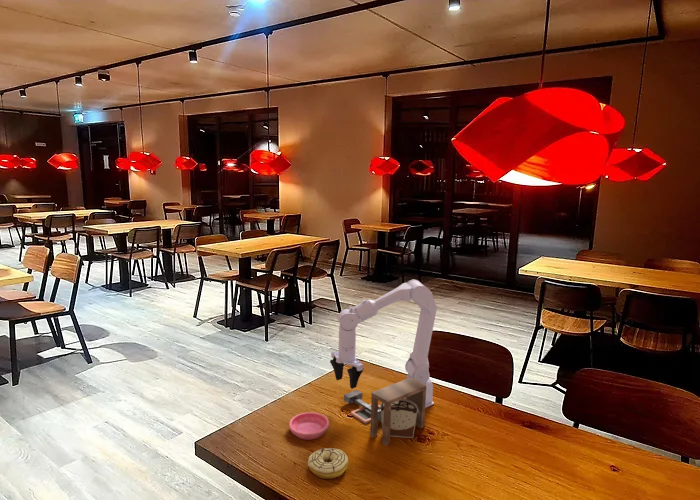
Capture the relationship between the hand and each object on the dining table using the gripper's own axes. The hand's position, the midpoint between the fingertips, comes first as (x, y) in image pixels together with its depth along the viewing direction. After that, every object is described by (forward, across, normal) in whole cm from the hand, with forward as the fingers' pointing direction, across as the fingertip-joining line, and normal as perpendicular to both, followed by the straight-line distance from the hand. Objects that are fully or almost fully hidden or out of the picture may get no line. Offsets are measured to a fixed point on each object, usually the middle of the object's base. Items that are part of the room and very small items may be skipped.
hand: (346, 383), depth 151 cm
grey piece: (+8, +6, +4) cm, 11 cm away
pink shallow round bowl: (+10, +4, -18) cm, 20 cm away
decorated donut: (+10, +22, -24) cm, 34 cm away
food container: (+9, +21, +4) cm, 23 cm away
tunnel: (+9, +21, +4) cm, 23 cm away
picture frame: (+9, +8, +4) cm, 13 cm away
